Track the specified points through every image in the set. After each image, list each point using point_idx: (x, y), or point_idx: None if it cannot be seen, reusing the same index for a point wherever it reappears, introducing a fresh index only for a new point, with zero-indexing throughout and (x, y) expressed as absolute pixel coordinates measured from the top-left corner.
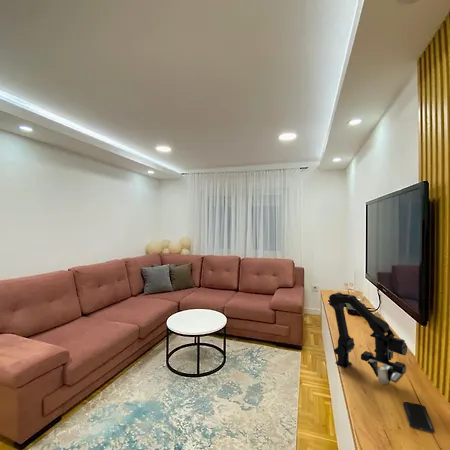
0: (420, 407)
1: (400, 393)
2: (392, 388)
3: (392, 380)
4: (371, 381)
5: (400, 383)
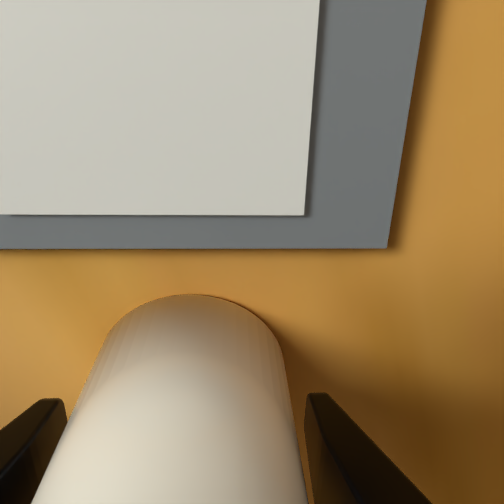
0: None
1: (493, 484)
2: None
3: (322, 237)
4: None
5: (476, 215)
